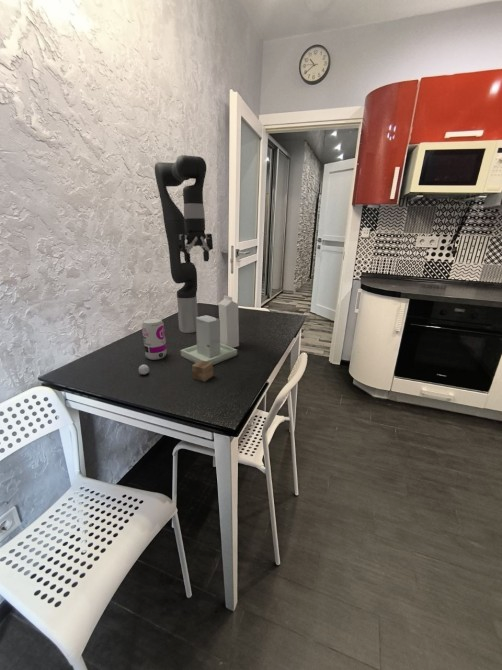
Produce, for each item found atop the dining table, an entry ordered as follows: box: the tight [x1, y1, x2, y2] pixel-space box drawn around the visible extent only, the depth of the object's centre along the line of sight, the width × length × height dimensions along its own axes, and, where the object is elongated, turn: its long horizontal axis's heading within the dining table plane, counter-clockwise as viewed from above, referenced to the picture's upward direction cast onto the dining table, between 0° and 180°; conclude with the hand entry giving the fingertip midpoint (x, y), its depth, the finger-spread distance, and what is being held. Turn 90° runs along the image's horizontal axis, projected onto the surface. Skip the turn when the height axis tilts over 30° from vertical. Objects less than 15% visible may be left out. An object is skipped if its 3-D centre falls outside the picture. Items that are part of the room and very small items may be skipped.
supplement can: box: [141, 317, 168, 361], centre depth 120 cm, size 8×8×15 cm
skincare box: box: [195, 314, 220, 357], centre depth 120 cm, size 8×6×15 cm
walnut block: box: [191, 360, 214, 383], centre depth 105 cm, size 5×5×5 cm
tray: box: [180, 343, 238, 366], centre depth 123 cm, size 16×16×2 cm
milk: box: [218, 294, 240, 348], centre depth 129 cm, size 6×6×22 cm
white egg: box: [138, 364, 150, 376], centre depth 108 cm, size 4×4×4 cm
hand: (197, 262), depth 118 cm, fingers open, 8 cm apart
